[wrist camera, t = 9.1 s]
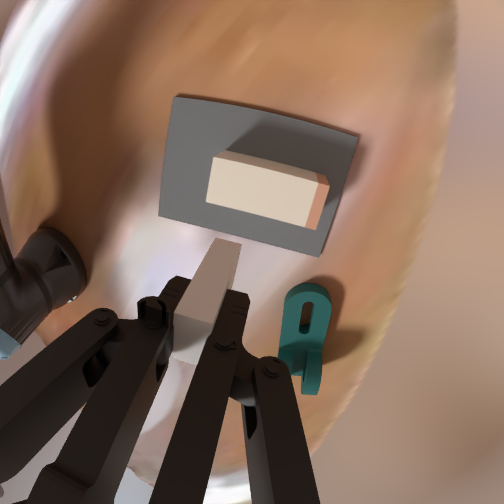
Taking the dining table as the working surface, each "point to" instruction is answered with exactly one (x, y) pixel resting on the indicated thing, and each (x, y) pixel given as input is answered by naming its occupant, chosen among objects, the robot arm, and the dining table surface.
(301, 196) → the cream block
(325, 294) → the bracket
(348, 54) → the dining table surface
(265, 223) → the slate mat
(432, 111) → the dining table surface
